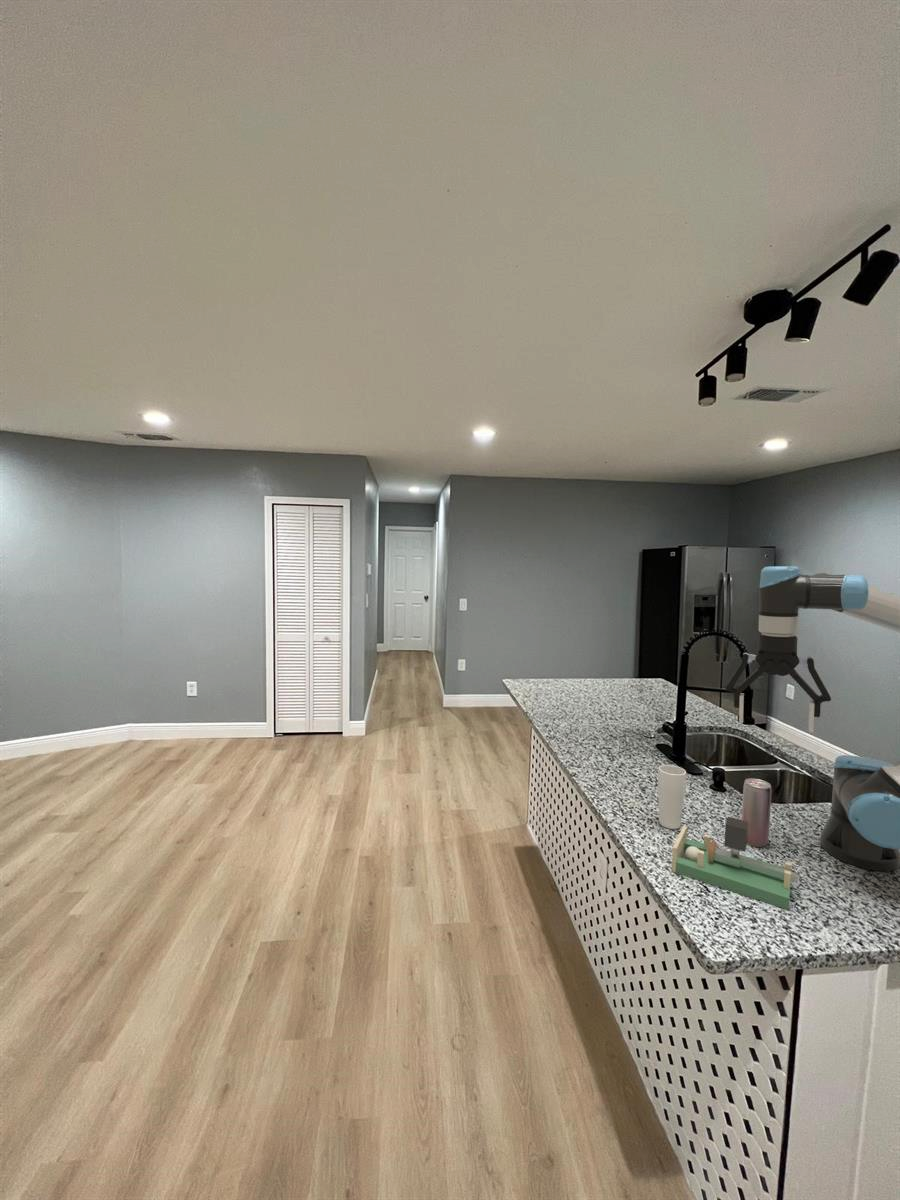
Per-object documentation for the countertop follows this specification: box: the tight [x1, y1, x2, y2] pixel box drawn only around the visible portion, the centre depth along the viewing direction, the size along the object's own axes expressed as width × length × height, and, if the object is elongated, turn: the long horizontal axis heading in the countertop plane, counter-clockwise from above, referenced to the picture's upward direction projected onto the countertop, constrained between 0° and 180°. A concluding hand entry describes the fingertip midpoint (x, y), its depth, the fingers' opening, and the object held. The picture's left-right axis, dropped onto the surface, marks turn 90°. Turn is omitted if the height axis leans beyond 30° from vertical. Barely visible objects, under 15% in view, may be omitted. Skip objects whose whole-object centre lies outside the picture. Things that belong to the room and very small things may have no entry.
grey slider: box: [708, 816, 799, 884], centre depth 112 cm, size 16×4×9 cm, turn 55°
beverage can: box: [741, 777, 773, 848], centre depth 129 cm, size 6×6×15 cm
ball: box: [685, 846, 699, 863], centre depth 119 cm, size 4×4×4 cm
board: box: [671, 825, 793, 911], centre depth 115 cm, size 22×12×6 cm, turn 55°
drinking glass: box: [657, 764, 687, 830], centre depth 136 cm, size 7×7×15 cm
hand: (774, 726), depth 120 cm, fingers open, 13 cm apart
